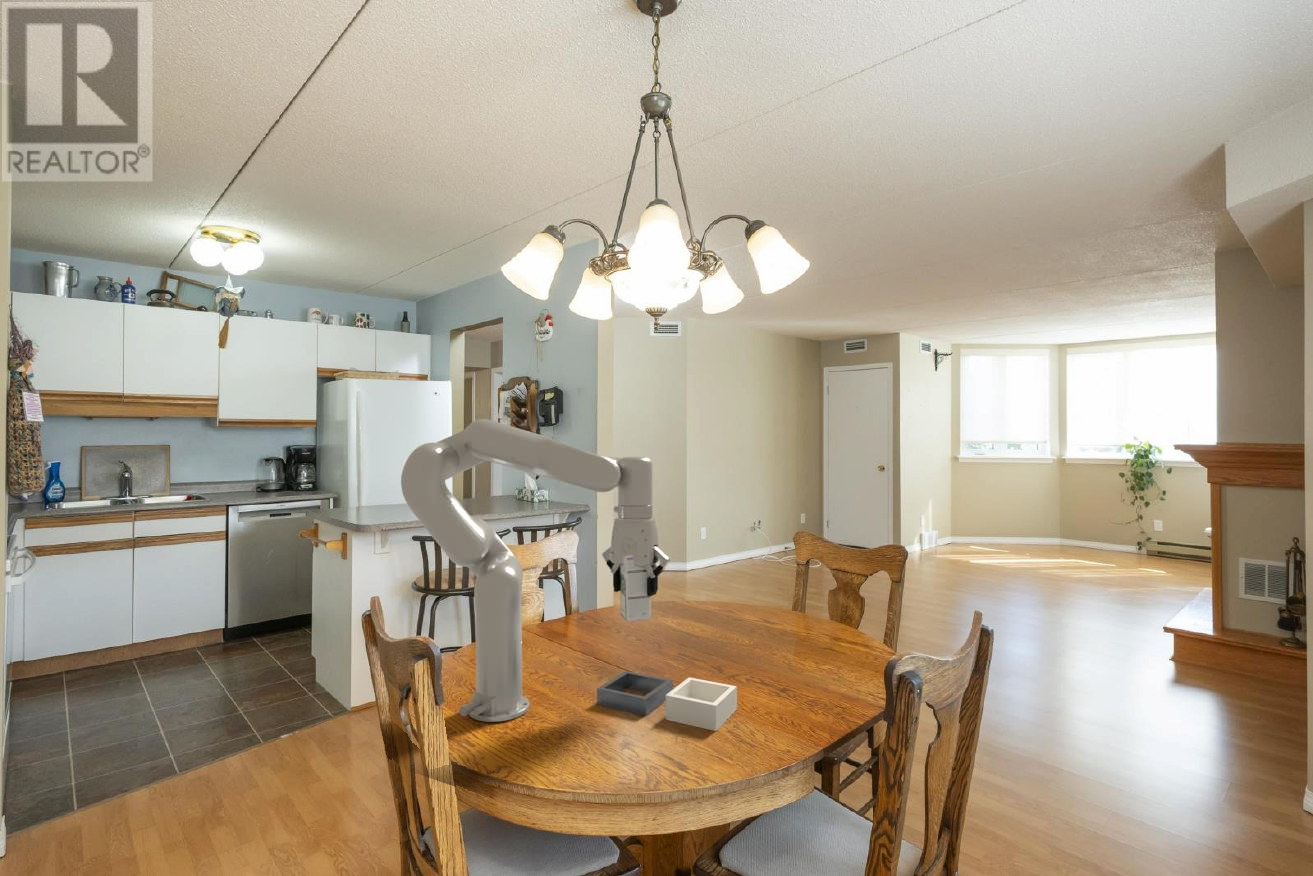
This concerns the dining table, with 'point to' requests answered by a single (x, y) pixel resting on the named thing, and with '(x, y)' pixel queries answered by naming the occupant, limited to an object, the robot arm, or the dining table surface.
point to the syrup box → (634, 591)
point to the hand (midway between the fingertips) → (635, 592)
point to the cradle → (701, 703)
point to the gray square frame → (627, 702)
